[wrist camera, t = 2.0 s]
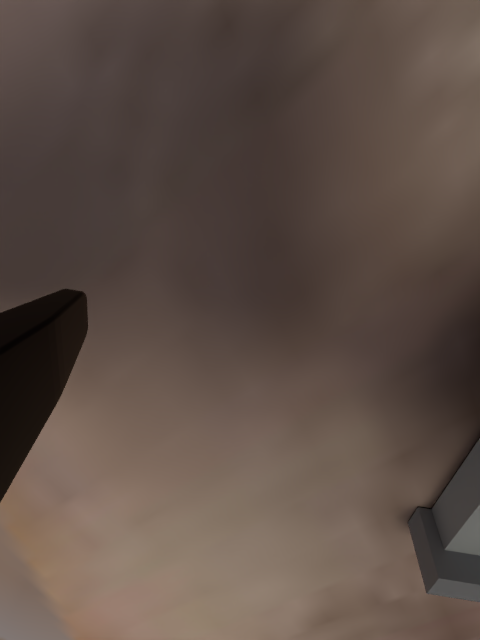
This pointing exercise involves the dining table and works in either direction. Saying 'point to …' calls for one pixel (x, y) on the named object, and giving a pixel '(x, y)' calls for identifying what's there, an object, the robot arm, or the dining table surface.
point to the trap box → (452, 535)
